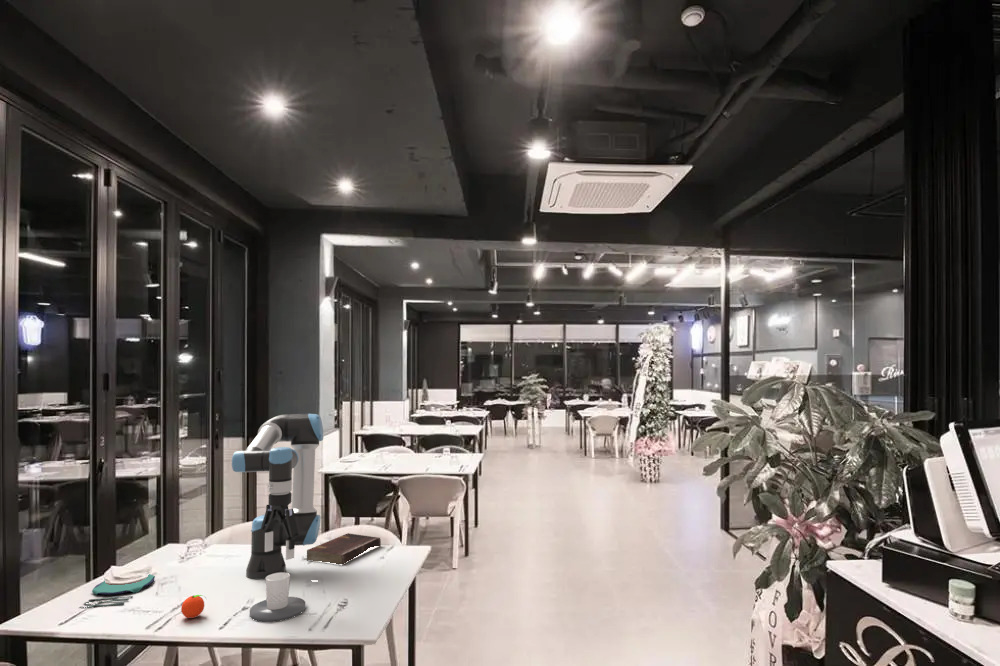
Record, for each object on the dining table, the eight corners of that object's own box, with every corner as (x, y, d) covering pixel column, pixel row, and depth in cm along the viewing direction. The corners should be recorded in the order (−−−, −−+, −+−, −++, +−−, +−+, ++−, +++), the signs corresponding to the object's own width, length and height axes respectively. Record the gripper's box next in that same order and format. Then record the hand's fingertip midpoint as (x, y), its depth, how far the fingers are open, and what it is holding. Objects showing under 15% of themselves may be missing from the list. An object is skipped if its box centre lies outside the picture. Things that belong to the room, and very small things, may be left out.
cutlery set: (162, 577, 235) (162, 571, 235) (128, 607, 206) (128, 600, 206) (109, 581, 232) (109, 575, 232) (66, 612, 202) (66, 605, 202)
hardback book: (341, 566, 247) (342, 554, 247) (306, 561, 254) (306, 550, 255) (380, 547, 274) (380, 537, 274) (347, 543, 281) (347, 533, 281)
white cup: (260, 609, 197) (260, 579, 198) (273, 601, 205) (274, 571, 205) (281, 611, 195) (281, 581, 196) (294, 602, 203) (294, 573, 204)
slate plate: (239, 612, 198) (239, 608, 198) (287, 596, 212) (287, 592, 212) (267, 626, 187) (267, 622, 187) (315, 609, 201) (316, 604, 201)
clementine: (201, 610, 201) (202, 589, 201) (211, 615, 196) (211, 593, 197) (177, 618, 194) (178, 596, 195) (186, 623, 190) (186, 601, 191)
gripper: (251, 489, 207) (250, 550, 206) (290, 499, 192) (289, 565, 190) (271, 486, 213) (270, 545, 212) (310, 495, 198) (309, 559, 196)
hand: (279, 554), depth 201 cm, fingers open, 13 cm apart
